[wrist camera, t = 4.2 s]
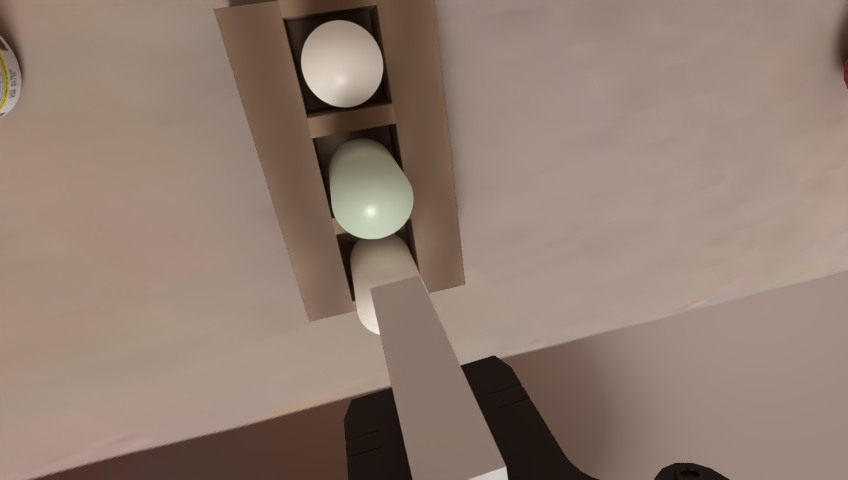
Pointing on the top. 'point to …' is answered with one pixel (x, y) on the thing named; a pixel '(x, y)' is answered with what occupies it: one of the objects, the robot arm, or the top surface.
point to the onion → (846, 72)
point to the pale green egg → (368, 189)
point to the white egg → (342, 63)
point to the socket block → (347, 135)
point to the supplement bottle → (8, 78)
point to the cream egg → (378, 271)
